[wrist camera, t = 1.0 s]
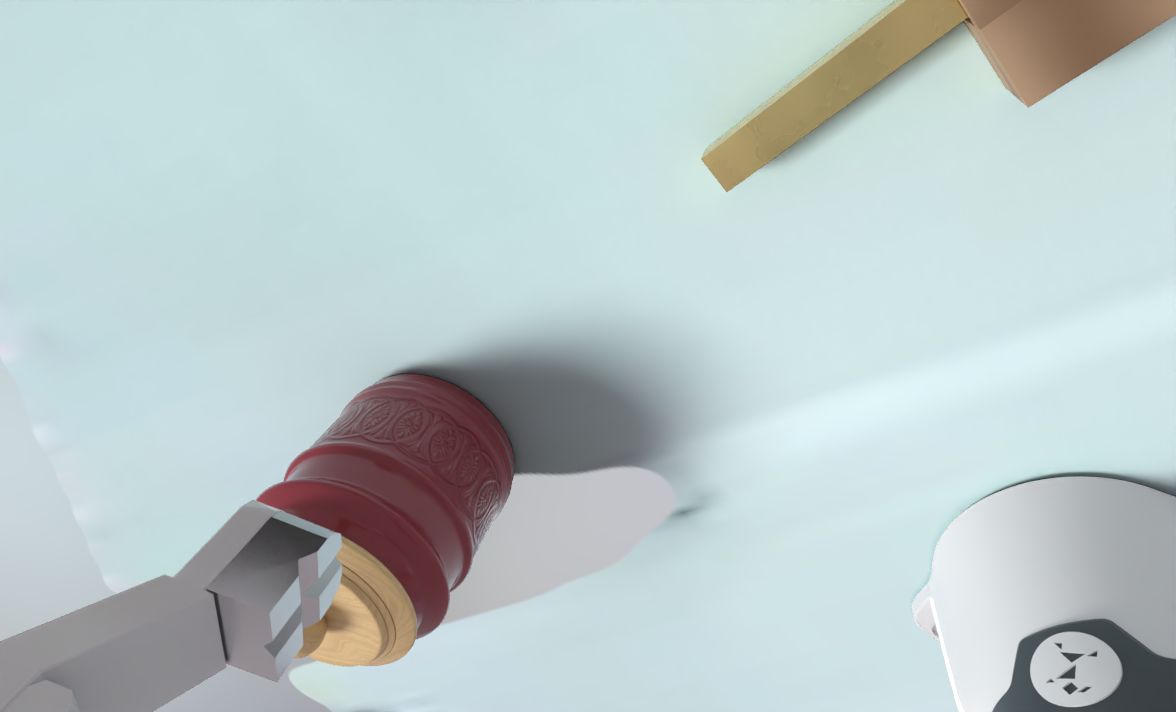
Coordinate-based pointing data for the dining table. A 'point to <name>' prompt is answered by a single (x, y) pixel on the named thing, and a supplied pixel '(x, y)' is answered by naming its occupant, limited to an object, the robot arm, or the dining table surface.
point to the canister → (397, 511)
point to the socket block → (1056, 37)
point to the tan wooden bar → (830, 85)
